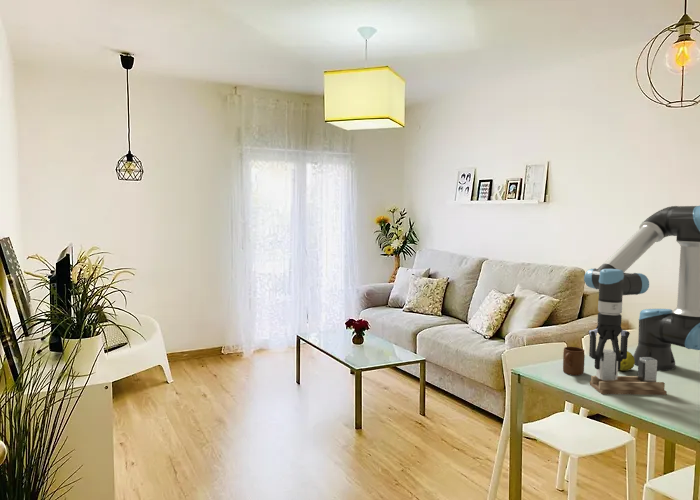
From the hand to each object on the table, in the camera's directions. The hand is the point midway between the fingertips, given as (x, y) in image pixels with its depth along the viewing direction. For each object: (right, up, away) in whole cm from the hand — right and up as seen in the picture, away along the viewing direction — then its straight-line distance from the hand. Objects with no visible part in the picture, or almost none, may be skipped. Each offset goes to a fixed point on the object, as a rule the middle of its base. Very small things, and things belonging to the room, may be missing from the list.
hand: (606, 378), depth 186 cm
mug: (-5, -3, +18) cm, 19 cm away
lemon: (+17, -3, +22) cm, 28 cm away
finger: (+14, -3, 0) cm, 14 cm away
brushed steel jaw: (0, 0, 0) cm, 0 cm away
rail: (+7, -4, 0) cm, 8 cm away
